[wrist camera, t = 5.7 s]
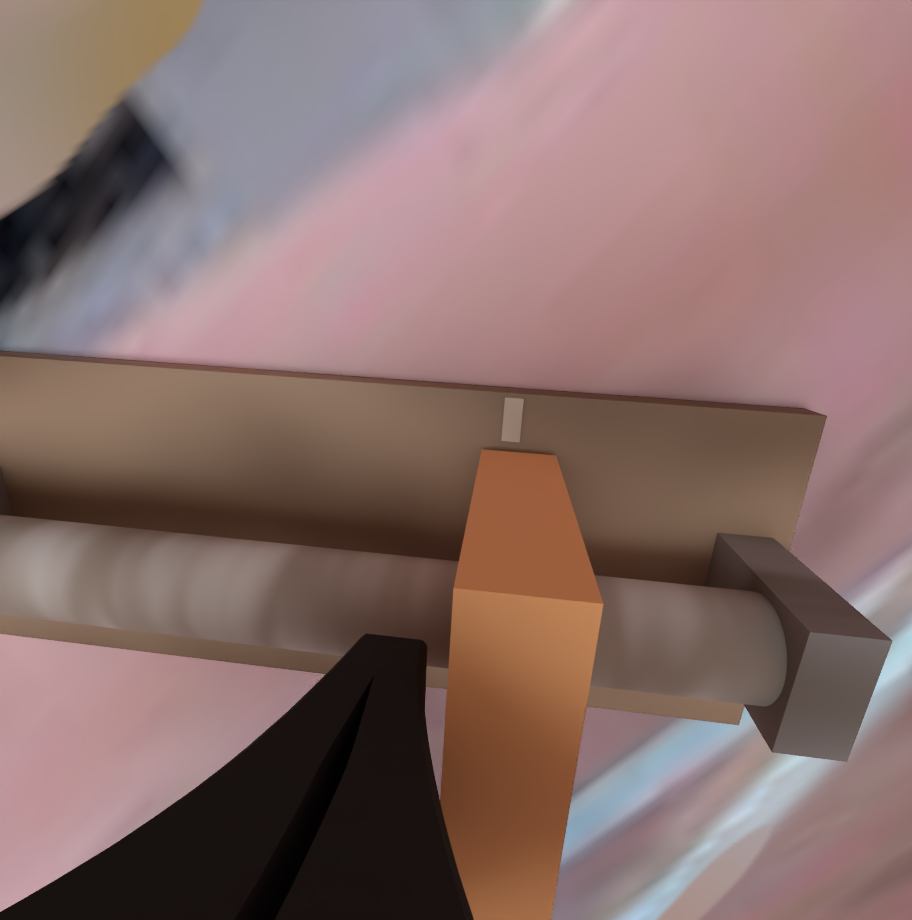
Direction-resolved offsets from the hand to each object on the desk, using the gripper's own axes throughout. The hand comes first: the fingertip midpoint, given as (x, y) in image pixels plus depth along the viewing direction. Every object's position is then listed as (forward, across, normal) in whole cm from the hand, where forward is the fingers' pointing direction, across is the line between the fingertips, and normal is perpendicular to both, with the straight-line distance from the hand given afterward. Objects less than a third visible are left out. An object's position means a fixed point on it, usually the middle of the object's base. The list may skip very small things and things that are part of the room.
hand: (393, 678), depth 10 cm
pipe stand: (+6, +3, 0) cm, 7 cm away
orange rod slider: (+5, -2, 0) cm, 5 cm away
